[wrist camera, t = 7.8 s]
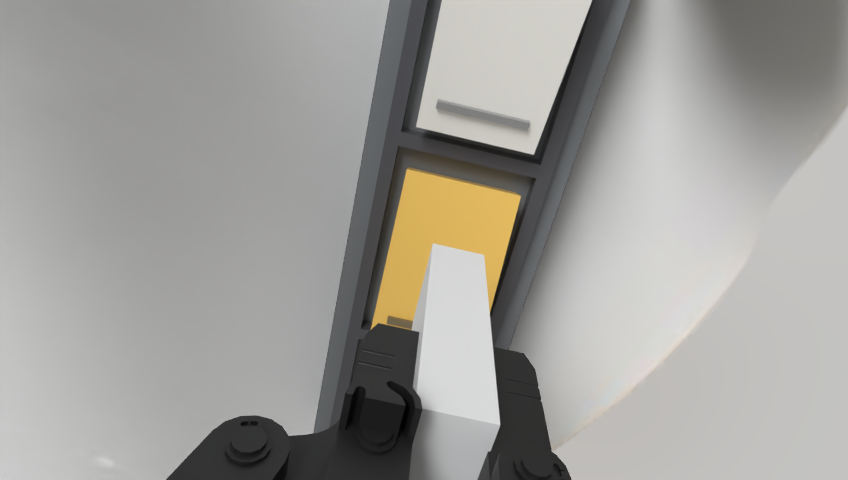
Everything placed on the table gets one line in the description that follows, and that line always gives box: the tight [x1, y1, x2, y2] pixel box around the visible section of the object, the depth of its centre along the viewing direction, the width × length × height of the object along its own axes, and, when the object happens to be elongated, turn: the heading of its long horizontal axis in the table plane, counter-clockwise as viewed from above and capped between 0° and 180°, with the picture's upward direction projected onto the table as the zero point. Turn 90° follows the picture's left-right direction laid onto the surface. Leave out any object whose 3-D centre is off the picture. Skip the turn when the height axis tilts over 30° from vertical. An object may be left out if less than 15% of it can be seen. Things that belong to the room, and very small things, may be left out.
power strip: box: [313, 0, 631, 434], centre depth 26 cm, size 34×9×5 cm, turn 167°
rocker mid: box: [371, 167, 521, 330], centre depth 23 cm, size 8×5×2 cm, turn 168°
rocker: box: [416, 0, 592, 155], centre depth 19 cm, size 8×5×2 cm, turn 167°
